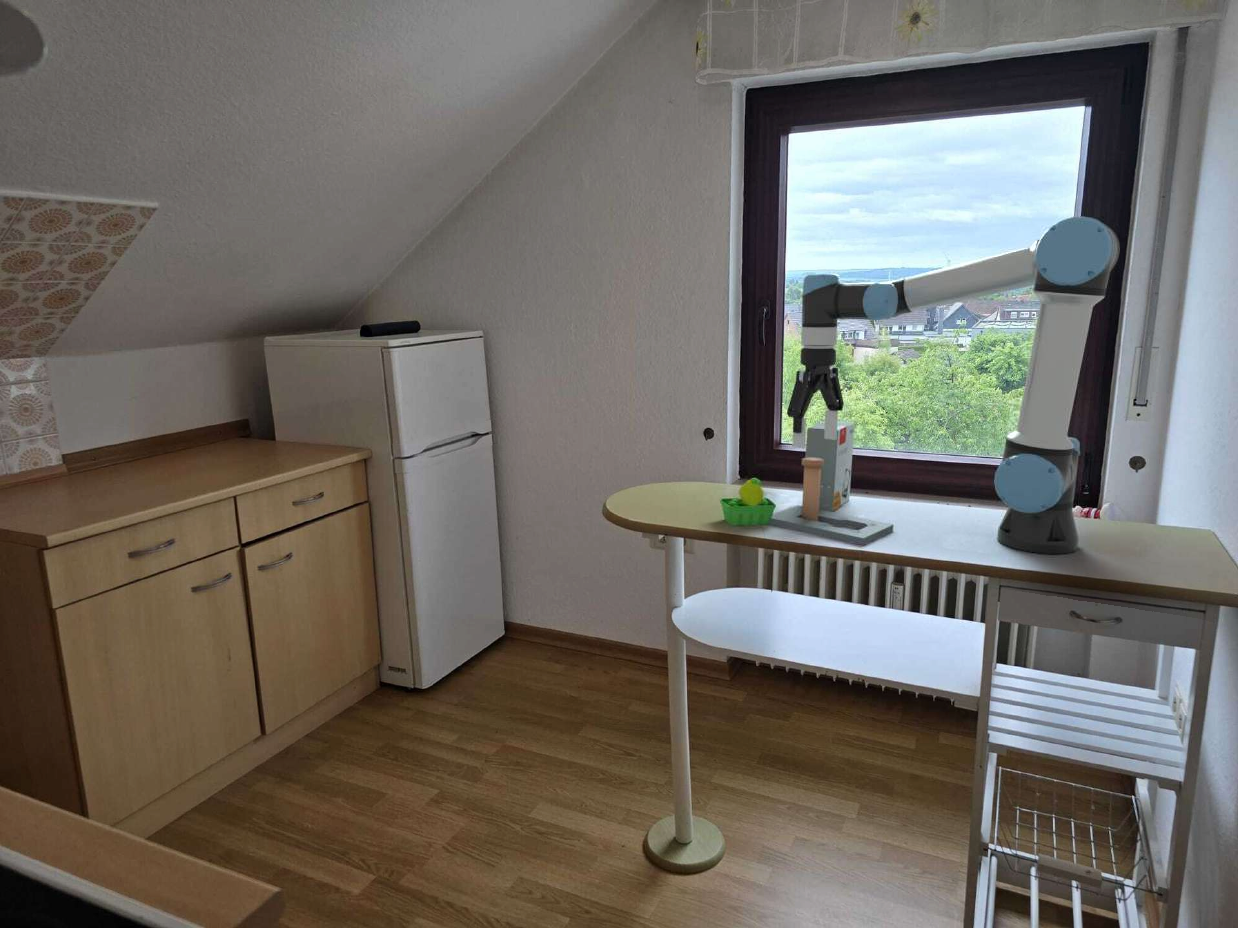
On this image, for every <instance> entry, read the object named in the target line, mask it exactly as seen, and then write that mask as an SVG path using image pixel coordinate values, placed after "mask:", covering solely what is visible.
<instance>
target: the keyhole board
mask: <svg viewBox="0 0 1238 928" xmlns="http://www.w3.org/2000/svg"><path fill="white" fill-rule="evenodd" d="M767 525H772V526H775V527H776V526H777V527H780V528H785V529H790V530H793V531H798V532H803V533H807V534H812V535H816V536H820V537H824V538H825V537H826V538H829V539H833V540H838V541H843V542H846V543H847V542H848V543H852V544H856V545H861V546H864V545H866V544H869V543H871V542H873V541H875V540H877V539H879V538H881V537H883V536H886V535H887V534H890V533H892V532H894V524H893V523H889V522H883V521H878V520H873V519H869V518H868V519H867V518H865V517H864V518H862V517H859V516H854V515H847V514H842V513H838V512H835V511H833V512H829V511H824V510H819V512H818V521H814V520H809V519H804V518H802V505H799V504H798V505H794V506H791V507H788V508H786V509H783V510H781V511H778V512H775V513H774V512H773V514H772V517H771V518H770V519H769V522H768V524H767ZM843 527H849V528H854V529H855V530H854V529H846V528H843ZM857 529H858V530H857Z"/></svg>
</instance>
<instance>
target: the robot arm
mask: <svg viewBox="0 0 1238 928" xmlns="http://www.w3.org/2000/svg"><path fill="white" fill-rule="evenodd" d="M1120 248H1121V247H1120V241H1119V238H1118V236H1117V234H1116V233H1115V232H1114V229H1112V228H1111V227H1109V226H1108V225H1107V224H1104V223H1103V222H1101V221H1100V220H1099V219H1096V218H1094V217H1088V216H1072V217H1068V218H1065V219H1063V220H1060V221H1058V222H1056V223H1054V224H1053V225H1052V226H1050V227H1049V228H1048V229H1047V230H1046V231H1045V232H1044V233H1043V235H1042V236H1041V237H1040V239H1036V241H1035V242H1034V243H1033V244H1032V246H1030V247H1024V248H1021V249H1018V250H1016V249H1015V250H1012V251H1009V252H1006V253H1002V254H1001V253H1000V254H997V255H993V256H989V257H985V258H982V259H981V258H980V259H977V260H973V261H968V262H965V263H960V264H956V265H952V266H948V267H944V268H941V269H937V270H932V271H928V272H925V273H921V274H916V275H912V276H907V277H904V278H899V279H896V280H891V281H887V282H881V281H877V282H851V283H848V282H847V283H846V282H845V283H844V282H841V281H840V276H839V275H838V274H837V273H820V274H819V273H816V274H814V273H813V274H807V275H806V276H805V277H804V279H803V286H802V294H801V298H802V300H801V301H802V303H801V306H802V307H801V318H802V319H801V332H800V335H801V341H800V343H801V345H802V346H803V347H802V348H801V349H800V362H799V363H800V364H801V365H802V366H805V370H803V371H802V370H798V371H796V372H795V374H796V375H795V383H794V386H793V390H792V393H791V397H790V400H789V404H788V408H787V412H786V414H787V416H788V417H789V418H792V419H793V420H792V448H797V449H806V440H807V418H806V417H805V415H806V413H807V411H808V408H809V405H810V404H811V402H812V399H813V397H814V395H815V394H816V393H817V392H818V391H820V395H821V396H822V398H823V401H824V403H825V406H826V408H827V409H826V410H825V412H824V421H825V432H824V439H831V440H837V421H838V413H839V411H841V412H842V411H843V409H844V404H845V403H844V399H843V394H842V389H841V385H840V383H841V382H840V379H839V368H838V367H837V366H834V365H835V364H837V363H836V362H837V349H836V347H835V346H837V345H838V320H859V321H860V320H862V321H863V320H867V321H868V320H869V321H870V320H871V321H875V322H876V321H882V320H890V319H892V318H896V317H899V316H901V315H905V314H911V313H913V312H917V311H922V310H923V311H924V310H928V309H932V308H936V307H941V306H945V305H950V304H953V303H954V304H955V303H959V302H964V301H968V300H973V299H977V298H982V297H986V296H991V295H996V294H1001V293H1006V292H1010V291H1014V290H1018V289H1023V288H1028V287H1032V286H1033V295H1035V296H1036V298H1037V299H1038V301H1039V308H1038V314H1037V320H1036V324H1035V331H1034V336H1033V341H1032V346H1031V352H1030V358H1029V362H1028V367H1027V372H1026V373H1027V374H1026V379H1025V384H1024V390H1023V395H1022V399H1021V404H1020V405H1021V406H1020V411H1019V415H1018V421H1017V425H1016V426H1017V427H1016V429H1014V430H1013V431H1012V432H1010V433H1008V434H1007V435H1006V438H1005V443H1004V449H1003V453H1002V454H1003V455H1002V461H1001V462H1000V463H999V465H998V467H997V470H995V473H994V487H995V492H996V494H997V496H998V497H999V499H1000V500H1001V501H1002V502H1003V503H1004V504H1005V505H1006V506H1007V507H1008V508H1007V509H1006V511H1005V514H1004V516H1003V518H1002V519H1001V522H1000V524H999V526H998V529H997V541H998V542H999V543H1000V544H1002V545H1004V546H1007V547H1009V548H1012V549H1015V550H1018V551H1019V550H1020V551H1024V552H1030V553H1036V554H1049V555H1054V554H1055V555H1058V554H1059V555H1061V554H1062V555H1064V554H1070V553H1073V552H1076V551H1077V550H1078V547H1079V541H1080V540H1079V539H1080V538H1079V534H1078V530H1077V526H1076V521H1075V518H1074V513H1073V507H1074V499H1075V489H1076V481H1077V473H1078V465H1079V463H1078V462H1079V457H1080V456H1081V451H1080V446H1081V443H1080V441H1079V440H1078V439H1077V438H1076V437H1071V436H1070V437H1069V436H1068V433H1069V432H1068V431H1069V427H1070V421H1071V417H1072V411H1073V408H1074V401H1075V397H1076V391H1077V388H1078V387H1077V386H1078V381H1079V378H1080V374H1081V373H1080V371H1081V367H1082V363H1083V357H1084V352H1085V348H1086V343H1087V338H1088V333H1089V327H1090V322H1091V318H1092V313H1093V310H1094V309H1093V308H1094V306H1095V305H1096V304H1098V303H1100V302H1101V301H1102V300H1103V299H1104V298H1105V297H1106V292H1107V287H1108V282H1109V277H1110V274H1111V271H1112V270H1113V269H1114V267H1115V265H1116V264H1117V261H1118V259H1119V255H1120Z"/></svg>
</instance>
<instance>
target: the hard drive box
mask: <svg viewBox="0 0 1238 928" xmlns="http://www.w3.org/2000/svg"><path fill="white" fill-rule="evenodd" d="M824 432H825V420H823V421H821V422H818V423H816V424H813V425H811V426H809V427H807V428H806V442H805V457H804V458H820V459H823V460H824V466H823V467H821V474H820V493H819V510H824V511H829V512H835V511H836V510H837V509H839V508H840V507H841V506H843V505H844V504H845V503H847V502H848V501H849V500H850V493H851V481H852V480H851V478H852V462H853V453H854V452H853V448H854V435H855V422H853V421H852V422H851V421H840V420H837V440H831V439H824ZM801 504H802V505H803V498H802V503H801ZM802 505H801V506H802Z"/></svg>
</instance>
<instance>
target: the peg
mask: <svg viewBox="0 0 1238 928" xmlns="http://www.w3.org/2000/svg"><path fill="white" fill-rule="evenodd" d="M801 466H803V467H804V468H803V488H802V499H803V505H801V506H802V518H804V519H809V520H814V521H818V512H819V493H820V474H821V467H823V466H824V460H823V459H820V458H805V457H804V458H802V459H801Z"/></svg>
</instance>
